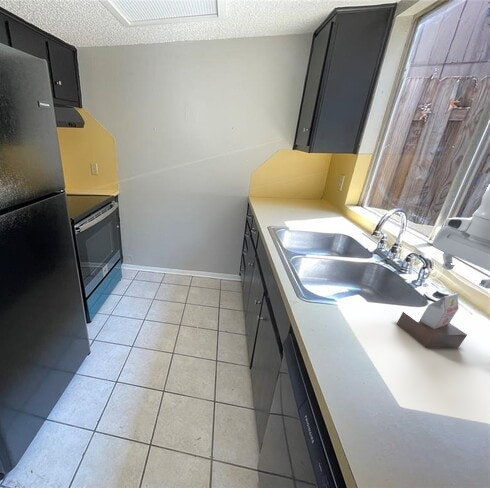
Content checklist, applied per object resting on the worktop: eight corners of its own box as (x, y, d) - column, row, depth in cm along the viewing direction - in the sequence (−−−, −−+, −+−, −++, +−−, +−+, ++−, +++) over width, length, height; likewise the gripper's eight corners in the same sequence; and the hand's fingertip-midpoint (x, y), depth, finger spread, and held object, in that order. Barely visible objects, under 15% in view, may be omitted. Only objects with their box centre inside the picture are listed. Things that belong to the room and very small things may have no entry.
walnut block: (425, 323, 84) (432, 311, 82) (458, 347, 75) (467, 334, 73) (396, 323, 83) (403, 311, 81) (426, 347, 74) (434, 334, 72)
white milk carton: (419, 320, 78) (435, 293, 73) (433, 316, 80) (449, 289, 76) (434, 329, 74) (452, 300, 70) (448, 324, 76) (466, 296, 72)
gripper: (564, 247, 55) (525, 300, 61) (460, 217, 74) (438, 260, 79) (537, 247, 55) (500, 300, 61) (440, 217, 73) (419, 259, 79)
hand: (464, 277), depth 70 cm, fingers open, 8 cm apart
